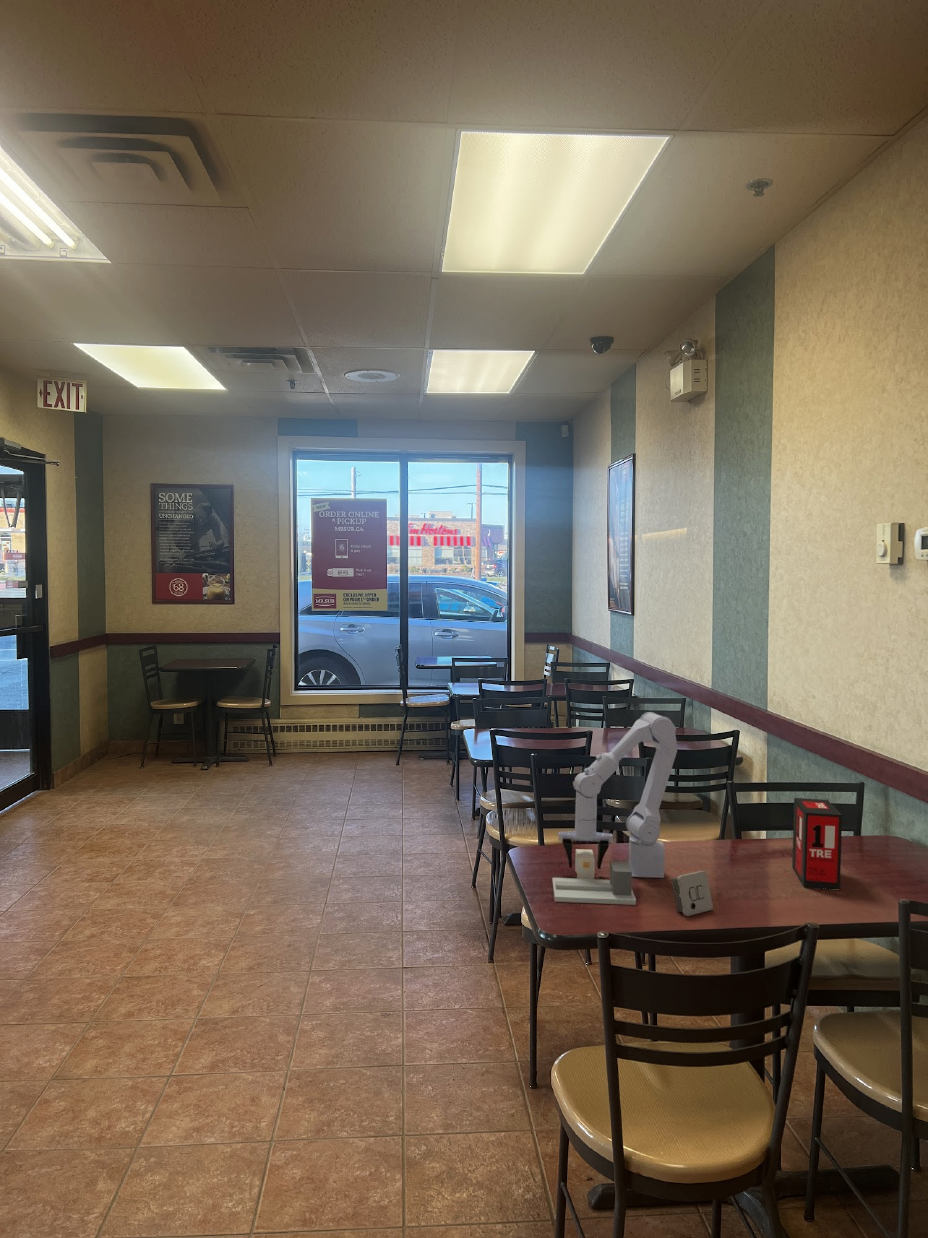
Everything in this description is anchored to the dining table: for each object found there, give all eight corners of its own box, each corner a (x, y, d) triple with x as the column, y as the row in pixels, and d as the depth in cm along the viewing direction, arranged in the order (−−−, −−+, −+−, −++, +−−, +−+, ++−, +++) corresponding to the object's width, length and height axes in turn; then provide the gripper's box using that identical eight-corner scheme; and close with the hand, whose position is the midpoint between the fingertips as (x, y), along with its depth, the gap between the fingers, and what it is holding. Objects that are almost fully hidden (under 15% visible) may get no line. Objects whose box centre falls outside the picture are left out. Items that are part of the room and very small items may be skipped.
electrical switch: (686, 918, 196) (684, 878, 196) (670, 912, 200) (668, 874, 201) (713, 911, 201) (712, 872, 201) (697, 905, 205) (696, 868, 206)
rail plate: (628, 885, 217) (629, 858, 217) (635, 905, 203) (636, 876, 203) (552, 882, 219) (552, 855, 218) (554, 901, 205) (555, 873, 204)
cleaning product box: (839, 890, 216) (842, 815, 215) (803, 887, 218) (806, 812, 217) (825, 870, 232) (827, 799, 232) (792, 867, 234) (794, 797, 233)
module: (591, 871, 228) (592, 849, 228) (594, 882, 219) (595, 860, 219) (575, 870, 228) (575, 849, 228) (577, 881, 219) (578, 859, 219)
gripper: (611, 814, 227) (609, 863, 227) (558, 812, 228) (557, 861, 228) (614, 821, 220) (612, 872, 220) (559, 819, 221) (558, 869, 221)
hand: (584, 867), depth 224 cm, fingers open, 7 cm apart
